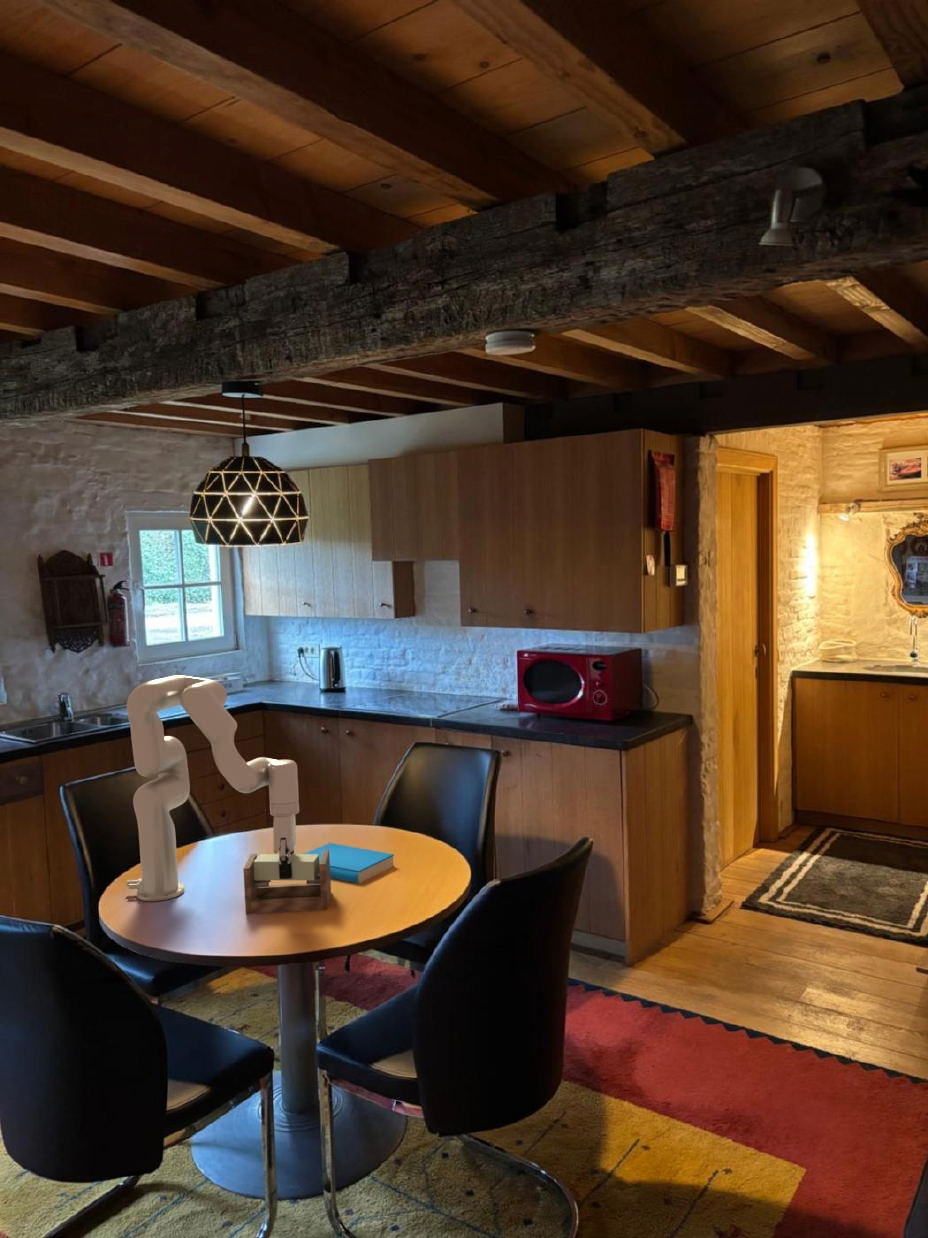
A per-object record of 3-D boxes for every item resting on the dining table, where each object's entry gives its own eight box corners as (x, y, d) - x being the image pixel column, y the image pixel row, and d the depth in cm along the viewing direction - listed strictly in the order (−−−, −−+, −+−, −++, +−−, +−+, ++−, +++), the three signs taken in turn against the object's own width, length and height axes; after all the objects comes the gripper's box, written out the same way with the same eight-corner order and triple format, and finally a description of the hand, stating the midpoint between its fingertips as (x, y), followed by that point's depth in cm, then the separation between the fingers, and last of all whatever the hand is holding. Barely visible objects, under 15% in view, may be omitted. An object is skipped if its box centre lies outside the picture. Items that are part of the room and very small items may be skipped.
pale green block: (254, 880, 245) (253, 861, 244) (261, 872, 251) (260, 854, 250) (314, 880, 243) (313, 861, 243) (319, 872, 249) (319, 854, 249)
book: (329, 842, 288) (394, 852, 274) (329, 856, 288) (395, 867, 275) (291, 859, 273) (357, 870, 260) (291, 873, 274) (358, 885, 260)
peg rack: (245, 914, 241) (243, 868, 240) (253, 897, 253) (251, 854, 252) (327, 909, 242) (325, 864, 241) (331, 892, 254) (329, 849, 253)
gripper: (274, 799, 254) (277, 863, 255) (265, 817, 237) (268, 886, 238) (302, 798, 254) (305, 862, 256) (295, 815, 237) (298, 884, 238)
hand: (287, 873), depth 247 cm, fingers closed on pale green block, 6 cm apart
